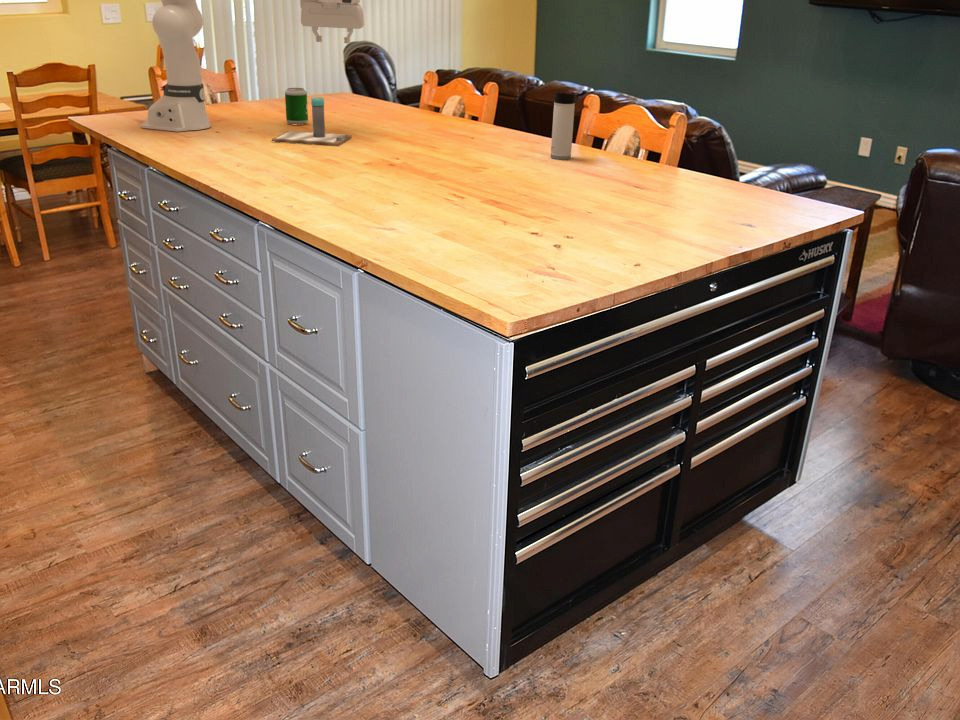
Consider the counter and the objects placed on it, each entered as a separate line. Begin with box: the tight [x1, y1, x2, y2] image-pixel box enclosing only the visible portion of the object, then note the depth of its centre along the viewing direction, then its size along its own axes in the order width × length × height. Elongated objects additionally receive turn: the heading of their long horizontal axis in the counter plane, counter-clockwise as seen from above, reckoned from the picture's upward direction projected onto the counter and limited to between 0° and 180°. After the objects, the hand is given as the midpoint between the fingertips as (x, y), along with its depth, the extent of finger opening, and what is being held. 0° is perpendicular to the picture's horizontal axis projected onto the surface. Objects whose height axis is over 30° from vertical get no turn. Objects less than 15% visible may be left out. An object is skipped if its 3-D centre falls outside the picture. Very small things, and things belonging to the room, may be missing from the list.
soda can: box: [284, 87, 309, 126], centre depth 315 cm, size 8×8×12 cm
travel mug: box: [550, 91, 576, 161], centre depth 275 cm, size 6×7×20 cm
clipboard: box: [271, 130, 352, 147], centre depth 292 cm, size 22×15×2 cm
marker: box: [310, 97, 326, 138], centre depth 290 cm, size 4×4×12 cm
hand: (333, 42), depth 292 cm, fingers open, 8 cm apart
